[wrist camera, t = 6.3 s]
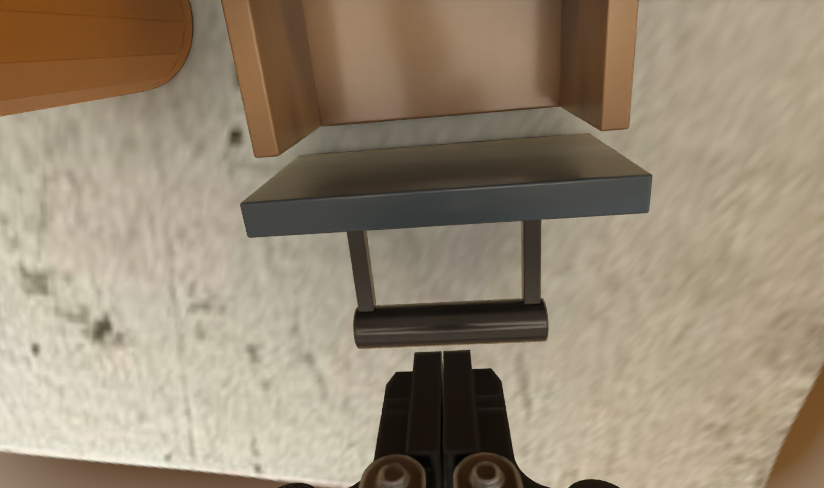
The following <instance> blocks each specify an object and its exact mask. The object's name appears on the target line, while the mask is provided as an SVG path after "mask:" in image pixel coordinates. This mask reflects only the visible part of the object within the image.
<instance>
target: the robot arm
mask: <svg viewBox="0 0 824 488" xmlns="http://www.w3.org/2000/svg"><path fill="white" fill-rule="evenodd" d="M279 488H314V487H313V486H311V485H309V484H305V483H291V484H287V485H284V486H281V487H279ZM349 488H549V487H546V486H543V485H540V484H538V483H536V482H534V481H533V480H531V479H530V478H528V477H527V476H526V475H525V474H524V473H523V472H522V471H521V470H520V469H519V467H518V466H517V464H516V461H515V458H514V454H513V448H512V442H511V436H510V430H509V424H508V418H507V412H506V406H505V400H504V394H503V388H502V382H501V380H500V379H499V377H498V376H497V375H496V374H495V372H494V371H493V370H492V369H491V368H488V369H472V366H471V355H470V350H458V351H444V352H443V362H442V352H441V351H435V352H415V354H414V364H413V371H409V372H396V373H395V374H394V375H393V377H392V378H391V379H390V381H389V382H388V383H387V385H386V389H385V396H384V402H383V408H382V415H381V420H380V426H379V432H378V438H377V444H376V450H375V456H374V461H373V462H372V463H371V464H370V465H369V466H368V467H367V468H366V469H365V471H364V473H363V475H362V477H361V480H360V481H359V482H358V483H356V484H355V485H353V486H351V487H349ZM569 488H619V487H618V486H616V485H613V484H611V483H609V482H606V481H602V480H595V479H587V480H582V481H578V482H576V483H574V484H572V485H571V486H570V487H569Z"/></svg>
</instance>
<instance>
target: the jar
mask: <svg viewBox="0 0 824 488" xmlns="http://www.w3.org/2000/svg"><path fill="white" fill-rule="evenodd" d="M192 28H193V27H192V15H191V9H190V5H189V1H188V0H0V116H6V115H12V114H17V113H23V112H29V111H35V110H40V109H46V108H52V107H58V106H63V105H69V104H75V103H81V102H86V101H92V100H98V99H104V98H109V97H115V96H121V95H127V94H132V93H138V92H144V91H146V90H150V89H153V88H156V87H158V86H160V85H162V84H164V83H166V82H167V81H169V80H170V79H171V78H172V77H173V76H174V75H175V74H176V73H177V72H178V71H179V70H180V68H181V67H182V65H183V64H184V62H185V60H186V58H187V55H188V52H189V49H190V45H191V40H192Z"/></svg>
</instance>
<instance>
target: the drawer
mask: <svg viewBox="0 0 824 488" xmlns="http://www.w3.org/2000/svg"><path fill="white" fill-rule="evenodd" d="M221 2H222V7H223V11H224V16H225V21H226V25H227V30H228V35H229V39H230V44H231V49H232V53H233V58H234V63H235V68H236V72H237V77H238V82H239V86H240V91H241V96H242V100H243V105H244V110H245V114H246V119H247V124H248V128H249V133H250V138H251V142H252V147H253V152H254V156H255V157H256V158H262V157H275V156H279V155H281V154H282V153H283V152H285V151H286V150H288V149H289V148H291V147H292V146H293V145H295V144H296V143H298V142H299V141H301V140H302V139H303V138H305V137H306V136H308V135H309V134H311V133H312V132H313V131H315V130H316V129H318V128H319V127H321V126H332V125H344V124H356V123H368V122H380V121H393V120H405V119H417V118H429V117H441V116H453V115H465V114H477V113H489V112H501V111H513V110H525V109H537V108H549V107H562V108H563V109H565V110H567V111H568V112H570V113H572V114H573V115H575V116H577V117H579V118H580V119H582V120H584V121H585V122H587V123H589V124H590V125H592V126H594V127H595V128H597V129H599V130H600V131H610V130H623V129H628V128H629V121H630V108H631V94H632V81H633V68H634V55H635V42H636V28H637V15H638V2H639V0H221ZM651 185H652V174H650V173H649V172H647V171H646V170H644V169H642V168H641V167H639V166H638V165H636V164H635V163H633V162H632V161H630V160H629V159H627V158H626V157H624V156H623V155H621V154H620V153H618V152H617V151H615V150H614V149H612V148H611V147H609V146H608V145H606V144H605V143H603V142H602V141H600V140H599V139H597V138H596V137H594V136H592V135H591V134H589V133H586V134H573V135H560V136H547V137H534V138H521V139H508V140H496V141H483V142H470V143H457V144H444V145H431V146H418V147H406V148H393V149H380V150H367V151H354V152H341V153H328V154H315V155H303V156H299V157H298V158H296V159H295V160H294V161H293V162H291V163H290V164H289V165H288V166H286V167H285V168H284V169H283V170H281V171H280V172H279V173H278V174H276V175H275V176H274V177H273V178H271V179H270V180H269V181H268V182H266V183H265V184H264V185H263V186H261V187H260V188H259V189H258V190H256V191H255V192H254V193H253V194H251V195H250V196H249V197H248V198H246V199H245V200H244V201H243V202H241V204H240V206H241V210H242V215H243V219H244V223H245V227H246V232H247V236H248V237H249V238H254V237H270V236H286V235H302V234H318V233H334V232H347V237H348V243H349V250H350V257H351V263H352V270H353V277H354V283H355V290H356V297H357V303H358V307H357V308H356V310H355V313H354V320H353V331H354V339H355V343H356V346H357V348H359V349H369V348H395V347H420V346H445V345H470V344H496V343H521V342H544V341H546V340H547V338H548V314H547V308H546V304H545V301H544V299H543V298H541V220H543V219H559V218H575V217H591V216H607V215H623V214H639V213H648V212H649V206H650V196H651ZM511 221H521V272H522V298H521V299H500V300H479V301H458V302H438V303H417V304H396V305H376V298H375V291H374V283H373V276H372V269H371V261H370V254H369V246H368V239H367V231H366V230H383V229H399V228H415V227H431V226H447V225H463V224H479V223H495V222H511Z"/></svg>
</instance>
